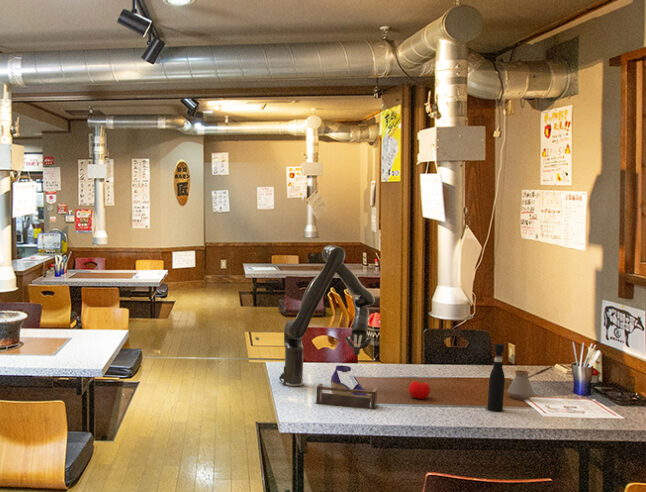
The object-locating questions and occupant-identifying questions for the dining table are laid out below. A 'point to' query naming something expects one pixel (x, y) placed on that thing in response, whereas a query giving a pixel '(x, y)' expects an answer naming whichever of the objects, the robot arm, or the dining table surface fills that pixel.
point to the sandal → (337, 384)
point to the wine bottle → (496, 382)
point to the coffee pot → (522, 385)
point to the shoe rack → (346, 397)
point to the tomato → (419, 389)
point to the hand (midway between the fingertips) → (356, 354)
